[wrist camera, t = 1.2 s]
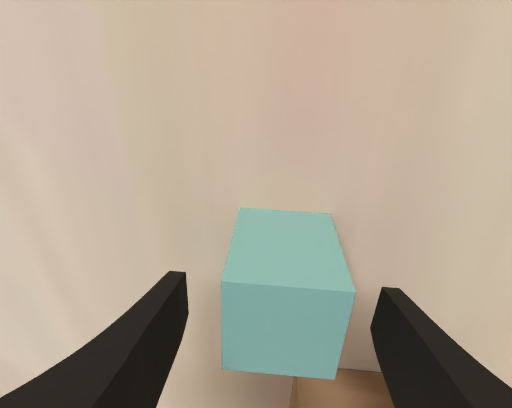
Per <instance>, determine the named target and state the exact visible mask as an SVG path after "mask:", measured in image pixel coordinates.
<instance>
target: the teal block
mask: <svg viewBox="0 0 512 408" xmlns="http://www.w3.org/2000/svg"><path fill="white" fill-rule="evenodd" d="M355 294H356V291H355V288H354V285H353V282H352V278H351V275H350V272H349V269H348V266H347V263H346V260H345V257H344V254H343V251H342V248H341V245H340V242H339V239H338V236H337V233H336V229H335V226H334V223H333V220H332V217H331V214H324V213H310V212H296V211H281V210H267V209H253V208H240V210H239V214H238V218H237V222H236V225H235V229H234V233H233V237H232V241H231V245H230V249H229V253H228V257H227V261H226V264H225V268H224V272H223V276H222V280H221V327H222V369H223V370H234V371H244V372H255V373H266V374H277V375H288V376H298V377H309V378H320V379H331V380H335V376H336V372H337V368H338V364H339V360H340V356H341V352H342V347H343V343H344V339H345V335H346V331H347V327H348V323H349V319H350V315H351V311H352V306H353V302H354V298H355Z"/></svg>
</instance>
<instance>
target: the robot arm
mask: <svg viewBox="0 0 512 408" xmlns="http://www.w3.org/2000/svg"><path fill="white" fill-rule="evenodd" d="M188 314H189V311H188V297H187V284H186V272H176V271H169V272H168V273H167V274H166V275H165V276H163V277H162V278H161V279H160V280H159V281H158V282H157V283H156V284H155V285H154V286H153V287H152V288H151V289H150V290H149V291H148V292H147V293H146V294H145V295H144V296H143V297H142V298H141V299H140V300H139V301H137V302H136V303H135V304H134V305H133V306H132V307H131V308H130V309H129V310H128V311H127V312H125V313H124V314H123V315H122V316H121V317H120V318H118V319H117V320H116V321H115V322H114V323H112V324H111V325H110V326H109V327H108V328H106V329H105V330H104V331H103V332H101V333H100V334H99V335H98V336H96V337H95V338H94V339H92V340H91V341H90V342H88V343H87V344H86V345H84V346H83V347H82V348H80V349H79V350H77V351H76V352H75V353H73V354H72V355H70V356H69V357H67V358H66V359H64V360H62V361H61V362H59V363H58V364H56V365H55V366H53V367H52V368H50V369H48V370H47V371H45V372H44V373H42V374H41V375H39V376H37V377H36V378H34V379H32V380H31V381H29V382H27V383H26V384H24V385H22V386H20V387H19V388H17V389H15V390H13V391H12V392H10V393H8V394H6V395H4V396H3V397H1V398H0V408H156V406H157V403H158V401H159V398H160V395H161V393H162V390H163V388H164V385H165V383H166V380H167V377H168V375H169V372H170V370H171V367H172V364H173V362H174V359H175V357H176V354H177V351H178V349H179V346H180V343H181V341H182V337H183V334H184V330H185V326H186V322H187V318H188ZM370 329H371V334H372V339H373V344H374V348H375V352H376V356H377V359H378V362H379V365H380V368H381V371H382V374H383V377H384V380H385V382H386V385H387V388H388V391H389V394H390V396H391V399H392V402H393V405H394V408H512V388H511V387H509V386H508V385H507V384H505V383H504V382H503V381H502V380H500V379H499V378H498V377H496V376H495V375H494V374H492V373H491V372H490V371H489V370H488V369H486V368H485V367H484V366H483V365H481V364H480V363H479V362H478V361H477V360H476V359H474V358H473V357H472V356H471V355H470V354H469V353H467V352H466V351H465V350H464V349H463V348H462V347H461V346H459V345H458V344H457V343H456V342H455V341H454V340H453V339H452V338H451V337H449V336H448V335H447V334H446V333H445V332H444V331H443V330H442V329H441V328H440V327H439V326H438V325H437V324H436V323H435V322H434V321H433V320H431V319H430V318H429V317H428V316H427V315H426V314H425V313H424V312H423V311H422V310H421V309H420V308H419V307H418V306H417V305H416V304H415V303H414V302H413V301H412V300H411V299H410V298H409V297H408V296H407V295H406V294H405V293H404V292H403V291H402V290H400V289H399V288H389V287H382V289H381V292H380V296H379V299H378V303H377V306H376V310H375V313H374V316H373V320H372V323H371V327H370Z"/></svg>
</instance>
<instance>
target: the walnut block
mask: <svg viewBox="0 0 512 408" xmlns="http://www.w3.org/2000/svg"><path fill="white" fill-rule="evenodd" d="M290 408H394V405H393V402H392V399H391V396H390V394H389V391H388V388H387V385H386V382H385V380H384V377H383V374H382V373H380V372H368V371H357V370H346V369H337V372H336V376H335V380H331V379H320V378H309V377H298V376H294V382H293V389H292V395H291V402H290Z"/></svg>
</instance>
